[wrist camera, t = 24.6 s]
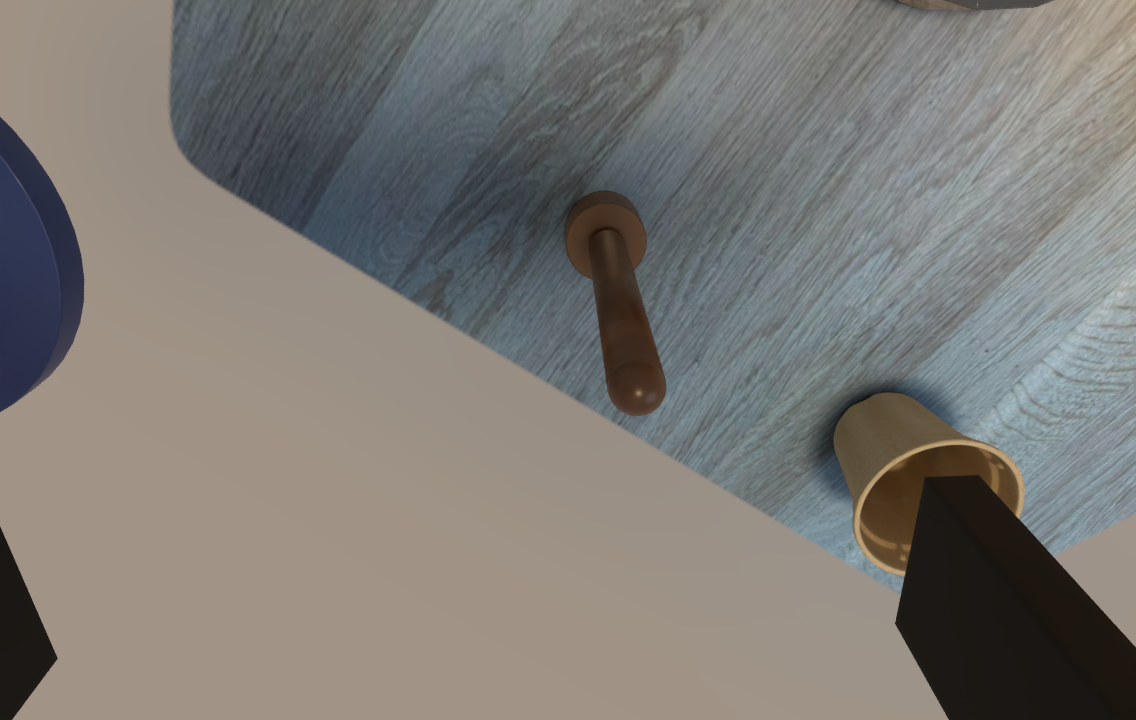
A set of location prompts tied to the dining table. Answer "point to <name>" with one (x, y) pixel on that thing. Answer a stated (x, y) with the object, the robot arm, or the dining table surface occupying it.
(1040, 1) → the bowl
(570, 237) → the wooden pestle
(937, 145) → the dining table surface
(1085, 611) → the robot arm
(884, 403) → the flower pot
